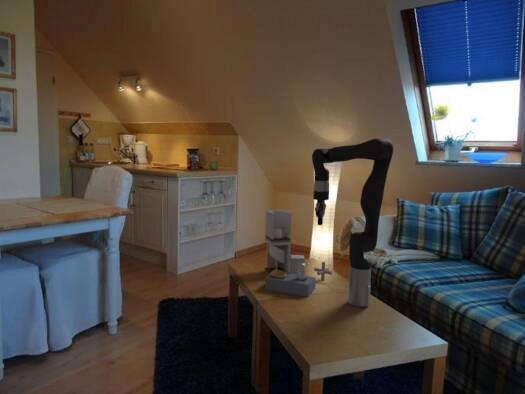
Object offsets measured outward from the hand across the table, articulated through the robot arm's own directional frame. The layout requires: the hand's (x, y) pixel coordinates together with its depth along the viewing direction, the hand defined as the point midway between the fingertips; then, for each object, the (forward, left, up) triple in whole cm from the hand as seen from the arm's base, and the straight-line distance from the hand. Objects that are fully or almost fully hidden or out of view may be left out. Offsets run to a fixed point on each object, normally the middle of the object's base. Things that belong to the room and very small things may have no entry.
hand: (320, 224), depth 197 cm
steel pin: (+7, +7, -33) cm, 34 cm away
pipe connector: (+1, -14, -33) cm, 36 cm away
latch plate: (+18, +7, -26) cm, 33 cm away
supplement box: (+14, -9, -33) cm, 37 cm away
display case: (+27, -13, -33) cm, 44 cm away
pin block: (+12, +7, -33) cm, 35 cm away
